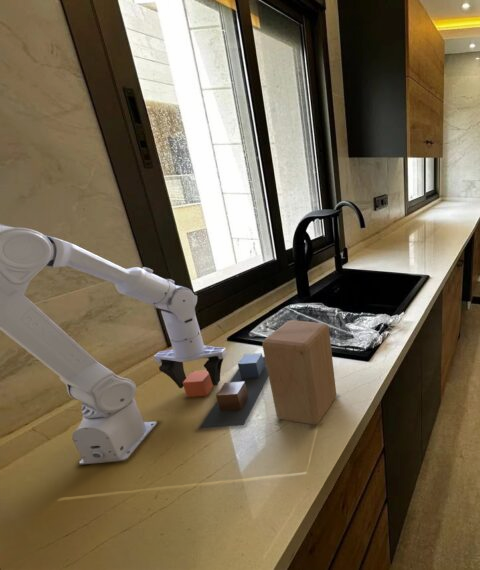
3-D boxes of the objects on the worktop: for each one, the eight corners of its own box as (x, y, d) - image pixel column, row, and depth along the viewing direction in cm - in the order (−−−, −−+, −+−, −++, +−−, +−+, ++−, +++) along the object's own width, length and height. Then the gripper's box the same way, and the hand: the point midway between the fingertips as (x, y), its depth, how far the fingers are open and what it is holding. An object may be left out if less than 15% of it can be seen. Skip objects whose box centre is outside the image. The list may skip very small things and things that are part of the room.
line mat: (243, 425, 69) (243, 424, 69) (198, 429, 68) (198, 428, 68) (279, 357, 93) (278, 356, 93) (245, 359, 92) (245, 358, 92)
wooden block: (317, 427, 69) (305, 346, 62) (275, 420, 71) (259, 340, 64) (338, 396, 78) (330, 322, 71) (300, 390, 80) (288, 317, 73)
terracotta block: (207, 396, 78) (202, 381, 76) (187, 397, 77) (182, 382, 76) (215, 384, 82) (211, 369, 80) (196, 385, 81) (192, 371, 80)
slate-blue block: (259, 377, 84) (256, 362, 83) (241, 378, 84) (237, 363, 82) (264, 367, 88) (261, 353, 87) (247, 368, 88) (244, 354, 86)
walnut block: (241, 409, 73) (237, 393, 72) (220, 411, 73) (215, 395, 71) (248, 396, 78) (244, 381, 76) (228, 397, 77) (224, 382, 75)
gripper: (226, 324, 79) (238, 371, 84) (161, 328, 77) (177, 376, 82) (213, 340, 72) (226, 390, 77) (141, 344, 70) (159, 394, 75)
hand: (200, 384), depth 79 cm, fingers open, 7 cm apart
